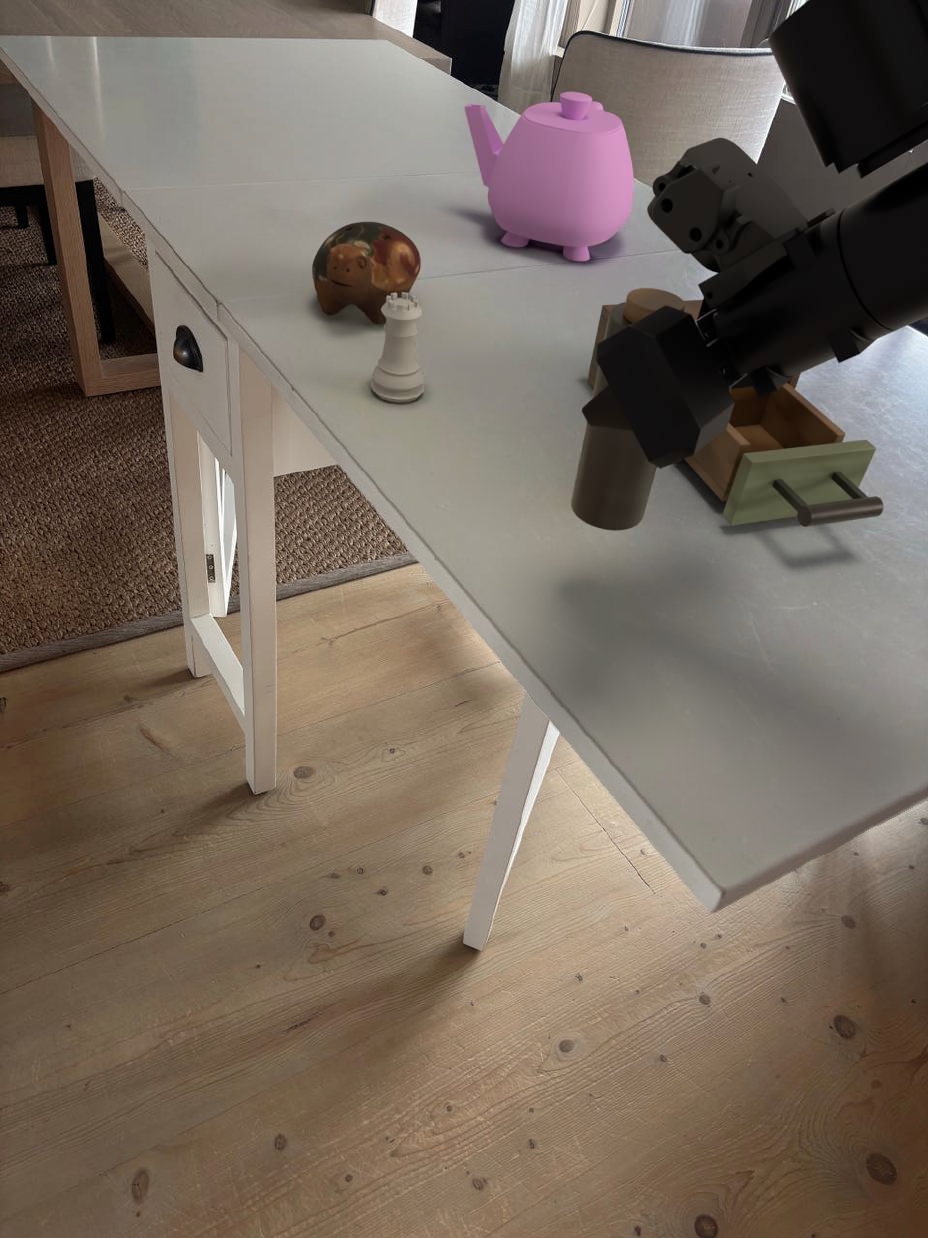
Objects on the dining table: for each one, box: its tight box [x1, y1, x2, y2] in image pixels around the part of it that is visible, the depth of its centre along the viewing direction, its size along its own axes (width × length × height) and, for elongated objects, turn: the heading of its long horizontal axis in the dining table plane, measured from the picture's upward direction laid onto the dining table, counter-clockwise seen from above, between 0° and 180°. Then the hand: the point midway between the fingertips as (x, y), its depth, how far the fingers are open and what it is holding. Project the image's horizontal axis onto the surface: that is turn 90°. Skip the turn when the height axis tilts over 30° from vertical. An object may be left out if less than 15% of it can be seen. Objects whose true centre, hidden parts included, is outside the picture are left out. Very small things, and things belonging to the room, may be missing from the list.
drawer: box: [684, 383, 884, 528], centre depth 69 cm, size 16×10×5 cm, turn 19°
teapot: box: [464, 91, 635, 262], centre depth 105 cm, size 20×20×15 cm
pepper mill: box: [570, 287, 685, 531], centre depth 52 cm, size 4×4×13 cm
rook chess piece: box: [370, 292, 425, 404], centre depth 76 cm, size 4×4×8 cm
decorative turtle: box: [311, 221, 422, 326], centre depth 88 cm, size 10×15×8 cm, turn 170°
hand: (609, 402), depth 53 cm, fingers closed on pepper mill, 4 cm apart
